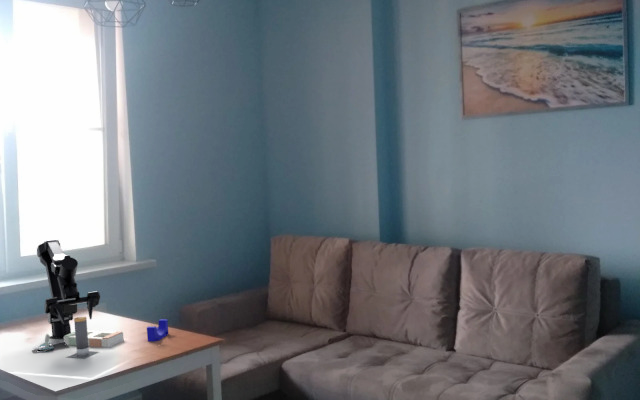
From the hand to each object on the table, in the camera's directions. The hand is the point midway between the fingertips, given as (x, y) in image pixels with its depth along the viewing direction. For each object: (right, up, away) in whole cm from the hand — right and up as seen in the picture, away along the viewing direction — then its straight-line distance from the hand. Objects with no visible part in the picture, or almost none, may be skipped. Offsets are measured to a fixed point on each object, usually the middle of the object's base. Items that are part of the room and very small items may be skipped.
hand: (77, 321), depth 239 cm
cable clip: (+24, -10, +16) cm, 31 cm away
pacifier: (-15, -13, +7) cm, 21 cm away
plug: (+3, -11, -3) cm, 12 cm away
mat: (+3, -12, -3) cm, 13 cm away
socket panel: (+1, -11, +13) cm, 17 cm away
